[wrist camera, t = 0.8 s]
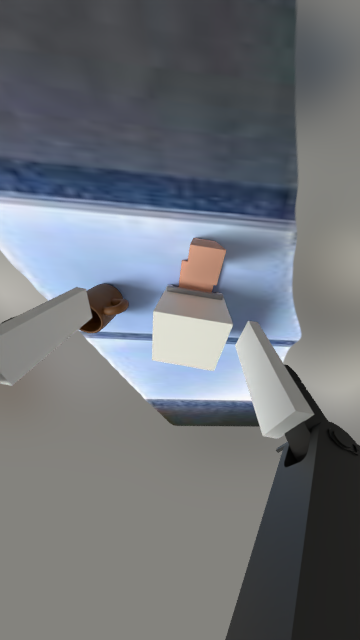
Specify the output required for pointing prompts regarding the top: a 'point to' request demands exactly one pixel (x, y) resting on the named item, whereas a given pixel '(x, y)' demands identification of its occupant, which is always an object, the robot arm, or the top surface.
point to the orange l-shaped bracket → (202, 265)
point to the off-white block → (190, 327)
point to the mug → (103, 307)
